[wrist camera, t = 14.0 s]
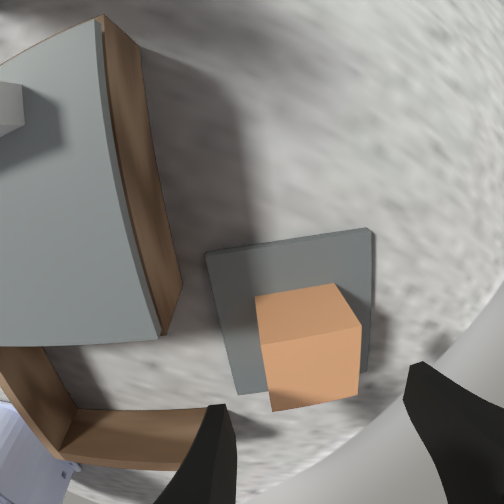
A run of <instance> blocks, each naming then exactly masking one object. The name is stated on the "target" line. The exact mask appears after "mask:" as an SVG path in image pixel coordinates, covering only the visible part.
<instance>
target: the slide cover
mask: <svg viewBox="0 0 504 504" xmlns="http://www.w3.org/2000/svg"><path fill="white" fill-rule="evenodd" d="M161 331H162V330H161V327H160V324H159V321H158V318H157V314H156V311H155V308H154V305H153V302H152V299H151V295H150V292H149V289H148V285H147V282H146V278H145V275H144V271H143V268H142V264H141V261H140V257H139V253H138V250H137V246H136V242H135V238H134V234H133V230H132V226H131V222H130V218H129V213H128V209H127V205H126V200H125V195H124V191H123V186H122V181H121V176H120V171H119V166H118V161H117V155H116V150H115V144H114V138H113V132H112V125H111V118H110V111H109V104H108V96H107V88H106V79H105V69H104V59H103V46H102V30H101V24H100V23H99V22H98V21H96V20H95V19H93V20H90V21H88V22H85V23H83V24H80V25H78V26H76V27H73V28H71V29H69V30H66V31H64V32H62V33H60V34H58V35H56V36H54V37H52V38H49V39H47V40H45V41H43V42H42V43H40V44H38V45H36V46H34V47H32V48H30V49H28V50H27V51H25V52H23V53H21V54H19V55H18V56H16V57H14V58H13V59H11V60H9V61H8V62H6V63H4V64H3V65H1V66H0V346H67V345H89V344H107V343H121V342H134V341H146V340H157V339H159V336H160V333H161Z"/></svg>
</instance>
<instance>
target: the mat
mask: <svg viewBox="0 0 504 504" xmlns="http://www.w3.org/2000/svg"><path fill="white" fill-rule="evenodd" d="M205 259H206V264H207V269H208V273H209V278H210V282H211V287H212V291H213V296H214V300H215V305H216V309H217V313H218V318H219V322H220V326H221V330H222V335H223V339H224V343H225V347H226V351H227V355H228V359H229V363H230V367H231V371H232V375H233V379H234V383H235V387H236V390H237V394H238V395H244V394H252V393H259V392H266V391H269V390H268V385H267V379H266V373H265V368H264V362H263V356H262V350H261V345H260V336H259V328H258V320H257V312H256V304H255V296H260V295H267V294H273V293H279V292H285V291H291V290H297V289H303V288H308V287H314V286H320V285H325V284H331V283H335V285H336V286H337V288H338V289H339V291H340V292H341V294H342V296H343V297H344V299H345V300H346V302H347V303H348V305H349V306H350V308H351V310H352V311H353V313H354V314H355V316H356V317H357V319H358V321H359V322H360V324H361V325H362V333H361V354H360V370H359V373H362V372H366V371H367V362H368V350H369V335H370V315H371V276H372V255H371V230H369V229H368V228H359V229H353V230H346V231H339V232H333V233H326V234H320V235H313V236H307V237H300V238H294V239H287V240H281V241H274V242H268V243H261V244H255V245H248V246H242V247H236V248H229V249H223V250H217V251H210V252H206V254H205Z"/></svg>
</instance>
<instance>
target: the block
mask: <svg viewBox="0 0 504 504" xmlns="http://www.w3.org/2000/svg"><path fill="white" fill-rule="evenodd" d="M255 304H256V312H257V320H258V328H259V336H260V345H261V350H262V356H263V362H264V368H265V373H266V379H267V385H268V390H269V396H270V402H271V407H272V412H275V411H282V410H288V409H293V408H299V407H304V406H310V405H315V404H320V403H324V402H329V401H333V400H338V399H342V398H346V397H351V396H355V395H358V383H359V370H360V354H361V333H362V325H361V324H360V322H359V321H358V319H357V317H356V316H355V314H354V313H353V311H352V310H351V308H350V306H349V305H348V303H347V302H346V300H345V299H344V297H343V296H342V294H341V292H340V291H339V289H338V288H337V286H336V285H335V283H331V284H325V285H320V286H314V287H308V288H303V289H297V290H291V291H285V292H279V293H273V294H267V295H260V296H255Z"/></svg>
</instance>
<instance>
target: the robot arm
mask: <svg viewBox="0 0 504 504" xmlns="http://www.w3.org/2000/svg"><path fill="white" fill-rule="evenodd" d="M403 401H404V404H405V407H406V410H407V412H408V415H409V417H410V420H411V422H412V423H413V425H414V427H415V429H416V431H417V432H418V434H419V436H420V438H421V439H422V441H423V443H424V445H425V447H426V448H427V450H428V452H429V454H430V455H431V457H432V459H433V462H434V464H435V466H436V468H437V471H438V474H439V476H440V479H441V482H442V485H443V488H444V491H445V494H446V497H447V501H448V504H504V408H501V407H499V406H497V405H494V404H492V403H489V402H488V401H486V400H484V399H482V398H480V397H478V396H477V395H475V394H473V393H471V392H469V391H468V390H466V389H464V388H463V387H461V386H460V385H458V384H456V383H455V382H453V381H452V380H450V379H449V378H447V377H446V376H444V375H443V374H441V373H440V372H438V371H437V370H435V369H434V368H433V367H431V366H430V365H428V364H426V363H425V362H423V361H422V362H419V363H416V364H413V365H410V368H409V373H408V378H407V383H406V387H405V392H404V396H403ZM73 471H76V472H80V471H81V467H80V466H79V465H78V464H77V463H76V462H71V461H65V460H60V459H55V458H54V457H53V456H52V454H51V453H50V452H49V451H48V450H47V449H46V448H45V446H44V445H43V444H42V443H41V442H40V440H39V439H38V438H37V437H36V435H35V434H34V433H33V432H32V430H31V429H30V428H29V427H28V425H27V424H26V423H25V421H24V420H23V419H22V417H21V416H20V414H19V413H18V412H17V410H16V409H15V408H14V406H13V405H12V403H9V402H3V401H0V504H62V503H63V500H64V497H65V494H66V491H67V488H68V485H69V483H70V480H71V477H72V474H73ZM236 478H237V448H236V436H235V433H234V429H233V426H232V423H231V420H230V417H229V414H228V411H227V408H226V404H218V405H209V406H208V407H207V409H206V412H205V415H204V417H203V420H202V423H201V425H200V428H199V430H198V432H197V435H196V437H195V439H194V441H193V443H192V445H191V447H190V449H189V451H188V453H187V455H186V457H185V458H184V460H183V462H182V464H181V465H180V467H179V469H178V471H177V472H176V474H175V475H174V477H173V478H172V480H171V481H170V483H169V484H168V485H167V487H166V488H165V489H164V491H163V492H162V493H161V495H160V496H159V497H158V498H157V499H156V501H155V502H154V503H153V504H235V501H236Z"/></svg>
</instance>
